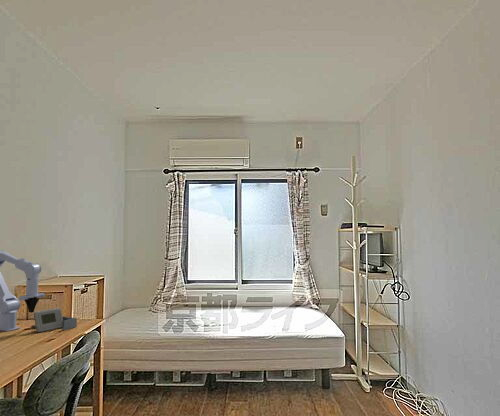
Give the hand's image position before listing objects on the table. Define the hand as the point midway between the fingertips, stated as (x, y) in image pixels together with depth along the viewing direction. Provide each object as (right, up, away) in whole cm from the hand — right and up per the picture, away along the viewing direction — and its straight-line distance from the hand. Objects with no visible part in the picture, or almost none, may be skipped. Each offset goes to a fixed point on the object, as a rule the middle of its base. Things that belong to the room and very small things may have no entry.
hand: (31, 312), depth 228 cm
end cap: (+12, -10, +8) cm, 17 cm away
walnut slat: (-1, -11, +11) cm, 15 cm away
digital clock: (+8, -11, +3) cm, 13 cm away
